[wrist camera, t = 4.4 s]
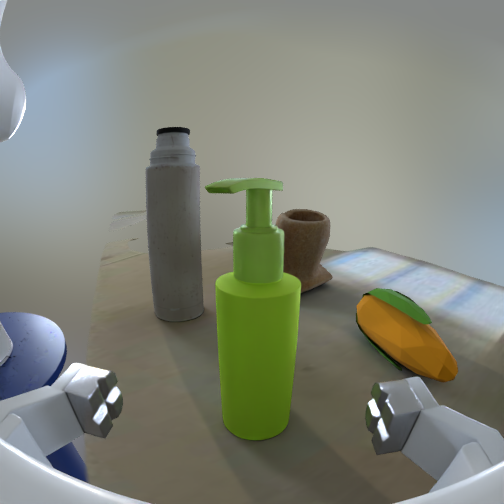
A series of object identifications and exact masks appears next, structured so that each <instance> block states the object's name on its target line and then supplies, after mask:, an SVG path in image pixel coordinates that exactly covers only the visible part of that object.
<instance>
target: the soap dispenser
mask: <svg viewBox="0 0 504 504" xmlns="http://www.w3.org/2000/svg"><path fill="white" fill-rule="evenodd" d="M205 189H206V190H207V191H208V192H209V193H230V194H231V193H236V192H239V191H242V190H246V224H243V225H241V227H240V228H238V229H235V230H234V232H233V262H234V272H230V273H227V274H224V275H222V276H220V277H219V278H218V279H217V280H216V283H215V286H216V312H217V334H218V353H219V370H220V386H221V400H222V413H223V422H224V424H225V426H226V428H227V429H228V430H229V431H230V432H231V433H233V434H234V435H236V436H238V437H240V438H243V439H248V440H265V439H269V438H272V437H274V436H276V435H278V434H280V433H281V432H282V431H283V430H284V429H285V428H286V426H287V424H288V421H289V414H290V405H291V397H292V388H293V378H294V368H295V358H296V347H297V335H298V323H299V309H300V294H301V282H300V280H299V279H298V278H296V277H295V276H293V275H290V274H288V273H284V272H283V266H284V231H283V230H282V229H279V228H277V226H276V225H273V224H272V190H283V183H282V182H281V181H276V180H271V179H264V178H235V179H225V180H221V181H218V182H214V183H212V184H209V185H207V186H205Z"/></svg>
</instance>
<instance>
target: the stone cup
mask: <svg viewBox="0 0 504 504" xmlns="http://www.w3.org/2000/svg"><path fill="white" fill-rule="evenodd" d="M276 226H277V228H279V229H282V230H283V231H284V266H283V272H284V273H288V274H290V275H293V276H295V277H296V278H298V279H299V280H300V282H301V293H302V292H305V291H308V290H310V289H313V288H315V287H317V286H319V285H321V284H323V283H325V282H327V281H329V280H331V279H332V278H333V277H332V275H331V274H330V273H329V272H328V271H327V270H326V269H325V268H324V267H322V265H320V261H321V258H322V256H323V253H324V251H325V248H326V246H327V243H328V240H329V237H330V220H329V218H328V217H327V216H326V215H324V214H322V213H320V212H317V211H312V210H307V209H293V210H290V211H287V212H285V213H281V214H280V215H279V217H278V219H277V221H276Z"/></svg>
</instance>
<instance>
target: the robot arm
mask: <svg viewBox="0 0 504 504" xmlns="http://www.w3.org/2000/svg"><path fill="white" fill-rule="evenodd" d="M6 3H7V0H0V25H1V21H2V16H3V13H4V9H5V6H6ZM25 105H26V93H25V88H24V85H23V82H22V81H21V79H20V77H19V76H18V75H17V74H16V73H15V72H14V71H13V70H12V69H11V68H10V67H9V65H8V64H7V62H6V60H5V58H4V56H3V53H2V50H1V45H0V142H3V141H5V140H8V139H9V138H10V137H11V136H12V135H13V133H14V132H15V131H16V129H17V128H18V126H19V124H20V122H21V120H22V117H23V114H24V110H25ZM12 349H13V344H12V341H11V339H10V338H9V336H8V335H7V333H6V331H5V330H4V328H3V326H2V324H1V322H0V366H1V365H2V364H3V363H4V362H5V361H6V360H7V359H8V357H9V356H10V354H11V352H12ZM117 382H118V381H117V378H116V375H115V373H114V372H112V371H110V370H105V369H101V368H97V367H93V366H89V365H84V364H80V363H73V364H72V365H71V366H70V367H69V369H67V370H66V371H65V372H64V373H63V374H62V375H61V377H59V379H57V381H56V382H55V383H54V384H53V385H52V386H51V387H49V386H45V387H42V388H39V389H36V390H33V391H30V392H27V393H24V394H21V395H18V396H15V397H12V398H9V399H5V400H2V401H0V504H151V503H147V502H143V501H139V500H136V499H132V498H129V497H126V496H122V495H119V494H116V493H113V492H110V491H107V490H104V489H101V488H99V487H96V486H93V485H91V484H88V483H86V482H83V481H81V480H78V479H76V478H74V477H71V476H69V475H67V474H65V473H62V472H60V471H58V470H56V469H54V468H52V465H51V464H50V462H49V461H48V460H47V458H46V457H45V456H47V455H49V454H51V453H52V452H54V451H56V450H58V449H59V448H61V447H63V446H64V445H66V444H68V443H69V442H71V441H73V440H75V439H76V438H78V437H80V436H81V435H83V434H84V433H87V434H91V435H94V436H97V437H101V438H106V437H107V435H108V433H109V432H110V430H111V428H112V427H113V424H112V420H113V419H115V418H117V417H118V416H119V415H120V413H121V411H122V406H123V398H122V394H121V391H120V390H119V389H118V388H117V387H116V386H115V385H116V384H117ZM371 394H372V396H373V399H372V400H371V401H370V402H369V403H368V405H367V408H366V418H365V419H366V425H367V428H368V431H370V432H371V433H373V434H374V435H373V437H372V443H373V446H374V449H375V452H376V455H380V454H386V453H392V452H398V451H401V452H402V453H403V454H404V455H405V456H407V457H408V458H409V459H410V460H412V461H413V462H414V463H415V464H417V465H418V466H419V467H420V468H422V469H423V470H424V471H425V472H427V473H428V474H429V475H431V476H432V477H433V478H434V479H436V480H437V483H436V484H435V485H434V486H433V488H432V489H431V490H430V491H429V493H428V494H425V495H422V496H419V497H415V498H412V499H408V500H405V501H401V502H397V503H394V504H504V439H503V437H502V436H501V434H500V433H499V432H498V430H496V429H493V428H491V427H489V426H487V425H484V424H482V423H480V422H478V421H476V420H473V419H471V418H469V417H467V416H465V415H463V414H461V413H458V412H456V411H454V410H452V409H450V408H448V407H446V406H444V405H442V406H439V405H438V403H437V402H436V400H435V399H434V397H433V396H432V394H431V393H430V391H429V390H428V388H427V387H426V385H425V384H424V382H423V381H422V379H421V378H420V377H418V376H417V377H411V378H405V379H401V380H394V381H387V382H379V383H375V384H374V386H373V388H372V391H371Z"/></svg>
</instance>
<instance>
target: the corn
mask: <svg viewBox="0 0 504 504" xmlns="http://www.w3.org/2000/svg"><path fill="white" fill-rule="evenodd" d="M356 322H357V324H358V327H359V329H360V330H361V332H362V333H363V334H364V335H365V337H366V338H367V339H368V341H369V342H370V343H371V344H372V345H373V346H374V348H375V349H376V350H377V351H378V352H379V353H380V354H381V355H382V356H383V357H384V358H386V359H387V360H388V361H389V362H390V363H392V364H393V365H394V366H395V367H397V368H398V369H399V370H401V371H402V368H401V367H400V366H398V365H397V364H396V363H395V362H394V361H393V360H392V359H391V358H390V357H389V356H388V355H390V356H391V357H392V358H393V359H394V360H396V361H397V362H399V363H400V364H402V365H404V366H405V367H407V368H408V369H410V370H411V371H413V372H415V373H416V374H419V375H422V376H425V377H428V378H431V379H434V380H437V381H440V382H447V381H451V380H454V378H455V376H456V374H457V373H458V367H457V362H456V360H455V359H454V357H453V355H452V354H451V352H450V351H449V349H448V348H447V346H446V345H445V344H444V342H443V341H442V339H441V338H440V336H439V335H438V333H437V332H436V331H435V329H433V328H432V327H431V326H430V325H429V324H430V323H432V321H431V320H430V318H429V316H428V315H427V314H426V313H425V311H424V310H423V309H422V308H420V307H419V306H418V305H417V304H416V303H415V302H414V301H413V300H411V299H410V298H409V297H407V296H405V295H403V294H401V293H399V292H397V291H393V290H391V289H378V288H376V289H374V290H372V291H370V292H368V293H365V294H363V298H362V299H361V301H360V302H359V303H358V305H357V313H356ZM387 354H388V355H387Z"/></svg>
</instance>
